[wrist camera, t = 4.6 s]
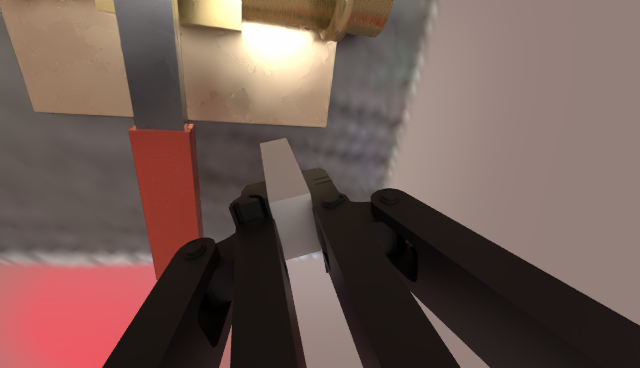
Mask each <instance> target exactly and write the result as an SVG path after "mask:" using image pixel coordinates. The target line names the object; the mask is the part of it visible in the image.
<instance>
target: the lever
mask: <svg viewBox="0 0 640 368" xmlns="http://www.w3.org/2000/svg"><path fill="white" fill-rule="evenodd" d="M113 2H114V7H115V13H116V19H117V24H118V30H119V36H120V41H121V47H122V53H123V58H124V64H125V70H126V76H127V81H128V87H129V93H130V98H131V104H132V110H133V115H134V121H135V126H133V127H132V128H130V129H129V136H130V141H131V146H132V152H133V157H134V162H135V168H136V173H137V178H138V183H139V189H140V194H141V199H142V205H143V210H144V215H145V221H146V226H147V231H148V237H149V242H150V247H151V253H152V258H153V263H154V268H155V274H156V279H157V280H159V278H160V276H161V275H162V273H163V272H164V270H165V269H166V267H167V266H168V264H169V262H170V261H171V259H172V258H173V256H174V255H175V253H176V252H177V251H178V250H179V249H180V248H181V247H182V246H183V245H185V244H186V243H188V242H190V241H192V240H194V239H198V238H202V237H203V225H202V213H201V201H200V188H199V176H198V164H197V152H196V140H195V128H194V124H189V123H188V112H187V101H186V90H185V80H184V69H183V58H182V47H181V36H180V25H179V14H178V3H177V0H113ZM203 238H204V237H203Z"/></svg>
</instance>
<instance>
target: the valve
mask: <svg viewBox="0 0 640 368" xmlns="http://www.w3.org/2000/svg"><path fill="white" fill-rule="evenodd" d="M177 3H178V14H179V25H180V36H181V47H182V58H183V69H184V80H185V90H186V101H187V112H188V120H199V121H218V122H237V123H255V124H274V125H293V126H311V127H326V123H327V115H328V107H329V99H330V91H331V83H332V75H333V67H334V59H335V51H336V43H337V42H340V41H341V40H342V39H343V38H344V36H345V35H346V33H348V34H354V35H361V36H368V37H376V36H377V35H378V34H379V33H380V32H381V31H382V29H383V28H384V26H385V24H386V21H387V19H388V17H389V14H390V11H391V7H392V3H393V0H177ZM0 8H1V11H2V14H3V17H4V20H5V23H6V26H7V29H8V33H9V36H10V39H11V42H12V45H13V48H14V51H15V54H16V57H17V60H18V63H19V66H20V69H21V72H22V75H23V78H24V81H25V84H26V87H27V90H28V93H29V97H30V100H31V103H32V106H33V109H34V112H50V113H69V114H87V115H106V116H125V117H134V115H133V110H132V104H131V98H130V93H129V87H128V81H127V76H126V70H125V64H124V58H123V53H122V47H121V41H120V36H119V30H118V24H117V19H116V13H115V7H114V2H113V0H0Z"/></svg>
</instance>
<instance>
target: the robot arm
mask: <svg viewBox="0 0 640 368" xmlns="http://www.w3.org/2000/svg"><path fill="white" fill-rule="evenodd" d="M260 148H261V155H262V162H263V168H264V175H265V181H264V182H260V183H256V184H252V185H248V186H246V187H245V188H244V189H243V191H242V192H241V197H239V198H237V199H235V200H234V201H233V202H232V203H231V204H230V206H229V210H230V212H231V215H232V218H233V220H234V223H235V226H236V232H235V233H234V234H233V235H231V236H230V237H228V238H226V239H225V240H222V241H220V242H218V243H215V241H214V240H213V239H211V238H203V237H202V238H198V239H194V240H192V241H190V242H188V243H186V244H185V245H183V246H182V247H181V248H180V249H179V250H178V251H177V252H176V253H175V255H174V256H173V258H172V259H171V261H170V262H169V264H168V266H167V267H166V269H165V270H164V272H163V273H162V275H161V276H160V278H159V280H158V281H157V283H156V285H155V286H154V287H153V289H152V291H151V292H150V294H149V295H148V297H147V298H146V300H145V302H144V303H143V305H142V306H141V308H140V309H139V311H138V313H137V314H136V316H135V317H134V319H133V320H132V322H131V323H130V325H129V326H128V328H127V330H126V331H125V333H124V334H123V336H122V338H121V339H120V341H119V342H118V344H117V345H116V347H115V348H114V350H113V352H112V353H111V355H110V356H109V358H108V359H107V361H106V362H105V364H104V366H103V367H102V368H219V366H220V363H221V359H222V356H223V352H224V349H225V346H226V342H227V339H228V335H229V332H230V328H231V325H232V336H231V360H230V361H231V363H230V368H307V367H306V362H305V357H304V352H303V347H302V341H301V336H300V331H299V326H298V321H297V315H296V310H295V305H294V300H293V295H292V290H291V284H290V279H289V274H288V269H287V266H286V262H285V260H288V259H292V258H295V257H299V256H302V255H306V254H309V253H313V252H316V251H320V250H321V248H322V252H323V257H324V262H325V268H326V273H329V275H330V277H331V280H332V283H333V285H334V288H335V291H336V294H337V297H338V299H339V302H340V305H341V308H342V310H343V313H344V316H345V319H346V321H347V324H348V327H349V330H350V332H351V335H352V338H353V341H354V343H355V346H356V349H357V352H358V354H359V357H360V360H361V363H362V366H363V368H460V366H459V365H458V363H457V362H456V360H455V358H454V357H453V355H452V354H451V353H450V351H449V349H448V348H447V346H446V345H445V343H444V342H443V341H442V339H441V337H440V336H439V334H438V333H437V331H436V330H435V328H434V327H433V326H432V324H431V322H430V321H429V319H428V318H427V316H426V315H425V313H424V312H423V310H422V309H421V307H420V306H419V304H418V303H417V301H416V300H415V298H414V297H413V295H412V294H411V292H412V293H413V294H414V295H415V296H416V297H417V298H418V299H419V300H420V301H421V302H422V303H423V304H424V305H425V306H426V307H427V308H428V309H430V311H432V312H433V313H434V314H435V315H436V316H437V317H438V318H439V319H440V320H441V321H442V322H443V323H444V324H445V325H446V326H447V327H448V328H450V330H451V331H453V333H455V334H456V335H457V336H458V337H459V338H460V339H461V340H462V341H463V342H464V343H465V344H466V345H467V346H468V347H469V348H470V349H471V350H472V351H473V352H474V353H475V354H476V355H478V356H479V357H480V358H481V359H482V360H483V361H484V362H485V363H486V364H487V365H488V366H489V367H490V368H640V325H638V324H636V323H634V322H632V321H631V320H629V319H627V318H625V317H624V316H622V315H620V314H618V313H617V312H615V311H613V310H611V309H610V308H608V307H606V306H604V305H603V304H601V303H599V302H597V301H595V300H594V299H592V298H590V297H588V296H587V295H585V294H583V293H581V292H579V291H578V290H576V289H574V288H572V287H571V286H569V285H567V284H565V283H564V282H562V281H560V280H558V279H557V278H555V277H553V276H551V275H550V274H548V273H546V272H544V271H542V270H541V269H539V268H537V267H535V266H534V265H532V264H530V263H528V262H527V261H525V260H523V259H521V258H520V257H518V256H516V255H514V254H513V253H511V252H509V251H507V250H506V249H504V248H502V247H500V246H499V245H497V244H495V243H493V242H492V241H490V240H488V239H486V238H484V237H483V236H481V235H479V234H477V233H476V232H474V231H472V230H470V229H469V228H467V227H465V226H463V225H461V224H460V223H458V222H456V221H454V220H453V219H451V218H449V217H447V216H446V215H444V214H442V213H440V212H439V211H437V210H435V209H433V208H431V207H430V206H428V205H426V204H425V203H423V202H421V201H419V200H417V199H415V198H414V197H412V196H410V195H409V194H407V193H405V192H403V191H401V190H398V189H392V188H388V189H387V188H386V189H382V190H378V191H376V192H375V193H373V194H372V196H371V202H351V201H350V200H349V198H348V197H347V196H346V195H344V194H341V193H339V192H338V190H337V189H336V187H335V186H334V184H333V182H332V181H331V179H330V178H329V176H328V175H327V173H326V171H324V170H322V169H320V168H315V169H311V170H307V171H303V172H301V170H300V168H299V166H298V164H297V161H296V159H295V157H294V154H293V152H292V150H291V148H290V145H289V143H288V141H287V138H283V139H278V140H274V141H269V142H265V143H260ZM320 245H321V246H320ZM410 291H411V292H410Z"/></svg>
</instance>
